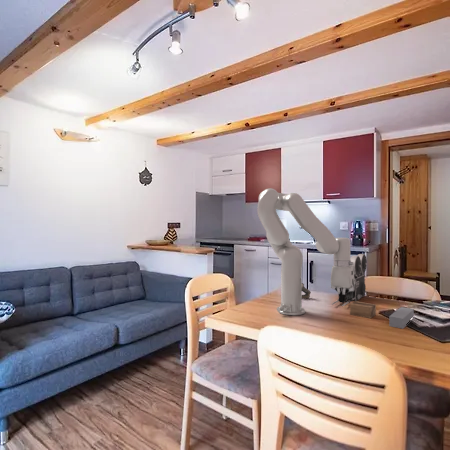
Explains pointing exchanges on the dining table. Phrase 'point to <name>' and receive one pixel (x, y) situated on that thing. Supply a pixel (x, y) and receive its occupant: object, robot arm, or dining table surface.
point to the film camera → (357, 279)
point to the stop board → (401, 317)
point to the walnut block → (363, 309)
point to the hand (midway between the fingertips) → (342, 302)
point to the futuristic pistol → (307, 292)
